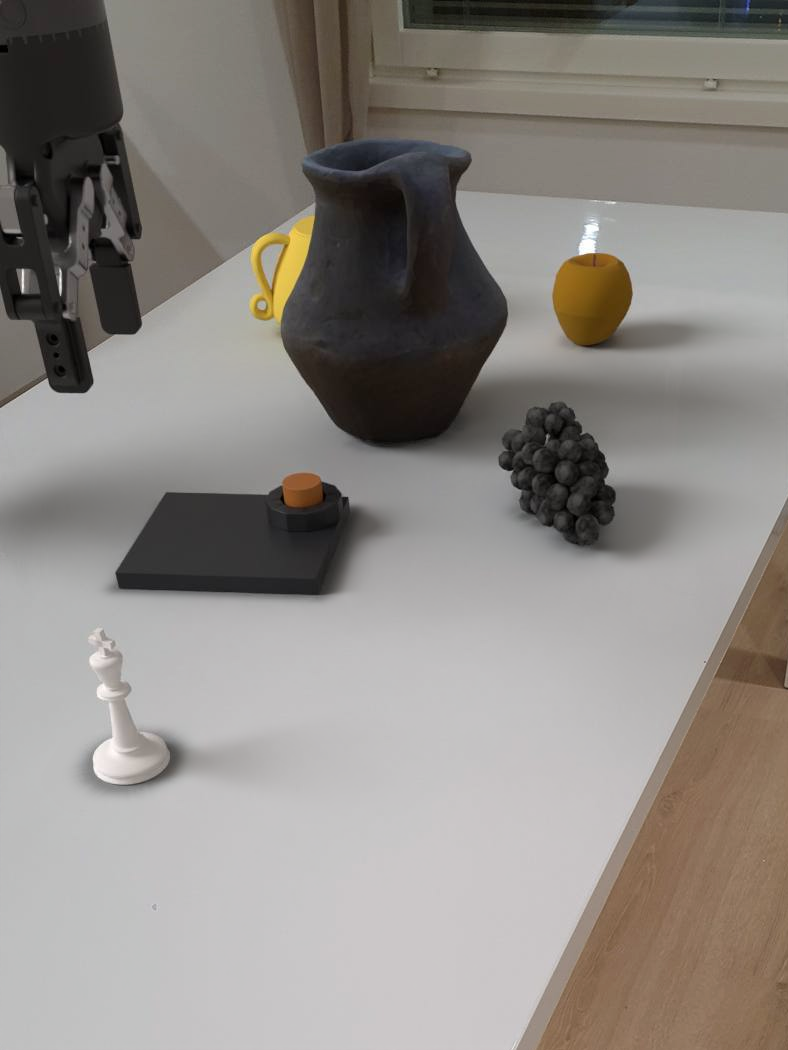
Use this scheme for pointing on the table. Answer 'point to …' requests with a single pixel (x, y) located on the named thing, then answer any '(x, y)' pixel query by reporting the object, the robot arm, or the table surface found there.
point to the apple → (591, 297)
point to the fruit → (560, 473)
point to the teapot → (280, 268)
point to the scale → (236, 543)
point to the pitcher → (391, 291)
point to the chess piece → (122, 724)
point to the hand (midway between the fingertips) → (99, 360)
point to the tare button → (302, 490)
